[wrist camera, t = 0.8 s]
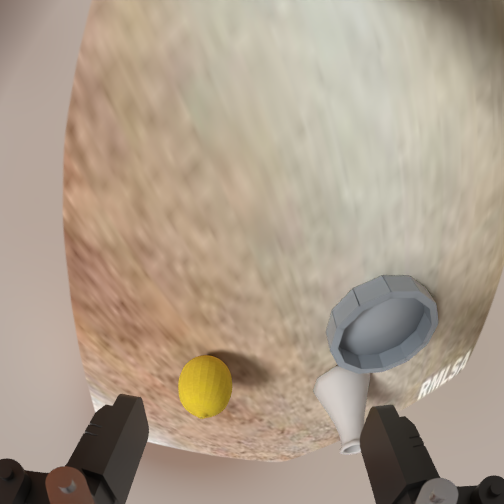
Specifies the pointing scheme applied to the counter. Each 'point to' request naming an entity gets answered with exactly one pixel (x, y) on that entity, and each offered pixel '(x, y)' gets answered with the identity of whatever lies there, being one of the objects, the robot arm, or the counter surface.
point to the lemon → (205, 386)
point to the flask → (344, 404)
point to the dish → (381, 324)
